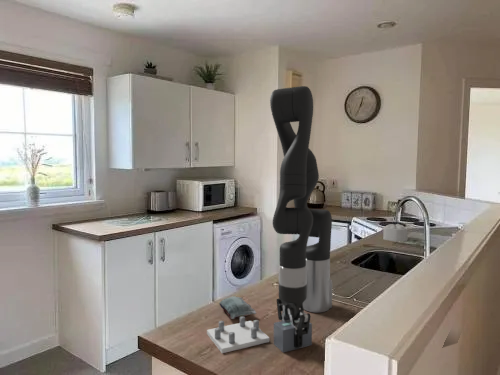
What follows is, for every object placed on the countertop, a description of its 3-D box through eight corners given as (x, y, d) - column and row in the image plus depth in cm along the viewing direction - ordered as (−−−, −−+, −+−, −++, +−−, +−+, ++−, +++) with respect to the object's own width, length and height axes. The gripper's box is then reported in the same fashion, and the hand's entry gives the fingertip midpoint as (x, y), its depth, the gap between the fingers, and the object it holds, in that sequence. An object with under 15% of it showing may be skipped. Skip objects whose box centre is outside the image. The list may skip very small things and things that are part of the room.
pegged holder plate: (250, 324, 117) (250, 312, 117) (269, 341, 106) (269, 328, 106) (207, 333, 111) (206, 321, 111) (221, 353, 101) (221, 339, 100)
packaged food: (242, 305, 132) (242, 291, 132) (256, 319, 121) (256, 304, 121) (218, 309, 129) (218, 295, 129) (230, 324, 118) (230, 308, 118)
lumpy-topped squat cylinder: (388, 236, 236) (388, 222, 235) (410, 239, 227) (410, 225, 227) (381, 239, 228) (381, 224, 228) (403, 242, 220) (404, 227, 219)
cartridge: (301, 337, 109) (301, 316, 109) (311, 345, 105) (311, 323, 104) (273, 344, 105) (273, 322, 105) (282, 352, 101) (282, 329, 100)
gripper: (320, 287, 98) (319, 351, 100) (290, 272, 111) (290, 328, 113) (294, 292, 95) (294, 358, 97) (267, 275, 108) (267, 334, 110)
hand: (292, 342), depth 105 cm, fingers closed on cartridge, 5 cm apart
